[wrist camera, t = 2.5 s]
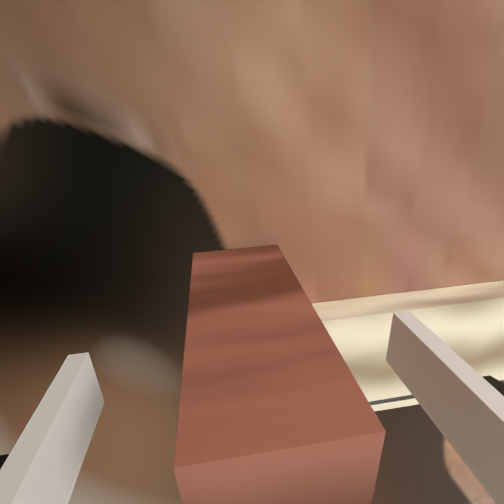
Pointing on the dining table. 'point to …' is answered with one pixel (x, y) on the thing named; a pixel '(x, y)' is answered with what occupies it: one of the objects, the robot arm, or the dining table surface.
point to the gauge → (267, 393)
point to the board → (430, 314)
